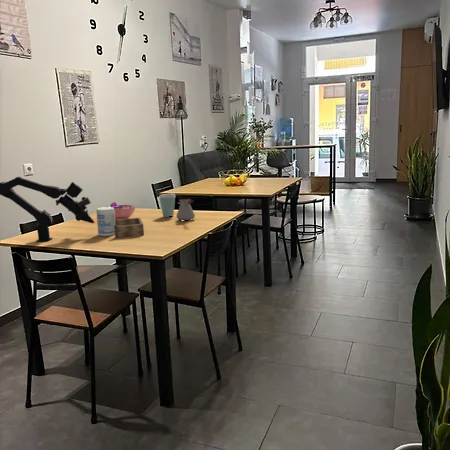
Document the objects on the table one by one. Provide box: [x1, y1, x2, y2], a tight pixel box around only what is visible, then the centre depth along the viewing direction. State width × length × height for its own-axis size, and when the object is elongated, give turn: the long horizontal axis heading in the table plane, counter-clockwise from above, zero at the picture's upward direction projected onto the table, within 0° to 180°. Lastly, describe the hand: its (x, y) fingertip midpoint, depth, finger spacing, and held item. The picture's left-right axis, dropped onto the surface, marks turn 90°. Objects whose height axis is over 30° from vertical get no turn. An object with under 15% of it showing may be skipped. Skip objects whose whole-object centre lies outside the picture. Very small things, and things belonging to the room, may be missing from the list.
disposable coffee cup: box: [158, 192, 176, 218], centre depth 292 cm, size 11×11×15 cm
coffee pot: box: [176, 198, 196, 221], centre depth 273 cm, size 21×12×15 cm, turn 21°
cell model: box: [106, 201, 136, 220], centre depth 287 cm, size 17×20×11 cm
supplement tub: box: [96, 206, 115, 237], centre depth 246 cm, size 10×10×15 cm
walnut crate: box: [114, 217, 145, 239], centre depth 250 cm, size 15×21×7 cm
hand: (93, 222), depth 244 cm, fingers closed
